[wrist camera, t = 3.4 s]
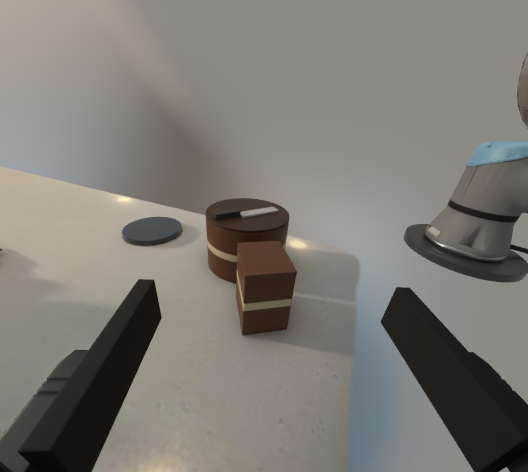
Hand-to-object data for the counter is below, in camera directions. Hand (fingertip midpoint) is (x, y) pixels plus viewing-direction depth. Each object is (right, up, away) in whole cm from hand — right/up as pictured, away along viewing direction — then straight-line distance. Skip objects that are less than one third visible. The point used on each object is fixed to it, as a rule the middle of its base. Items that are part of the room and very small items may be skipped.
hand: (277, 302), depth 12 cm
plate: (-22, +4, +30) cm, 37 cm away
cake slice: (-1, -5, +14) cm, 16 cm away
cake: (-4, 0, +24) cm, 24 cm away
